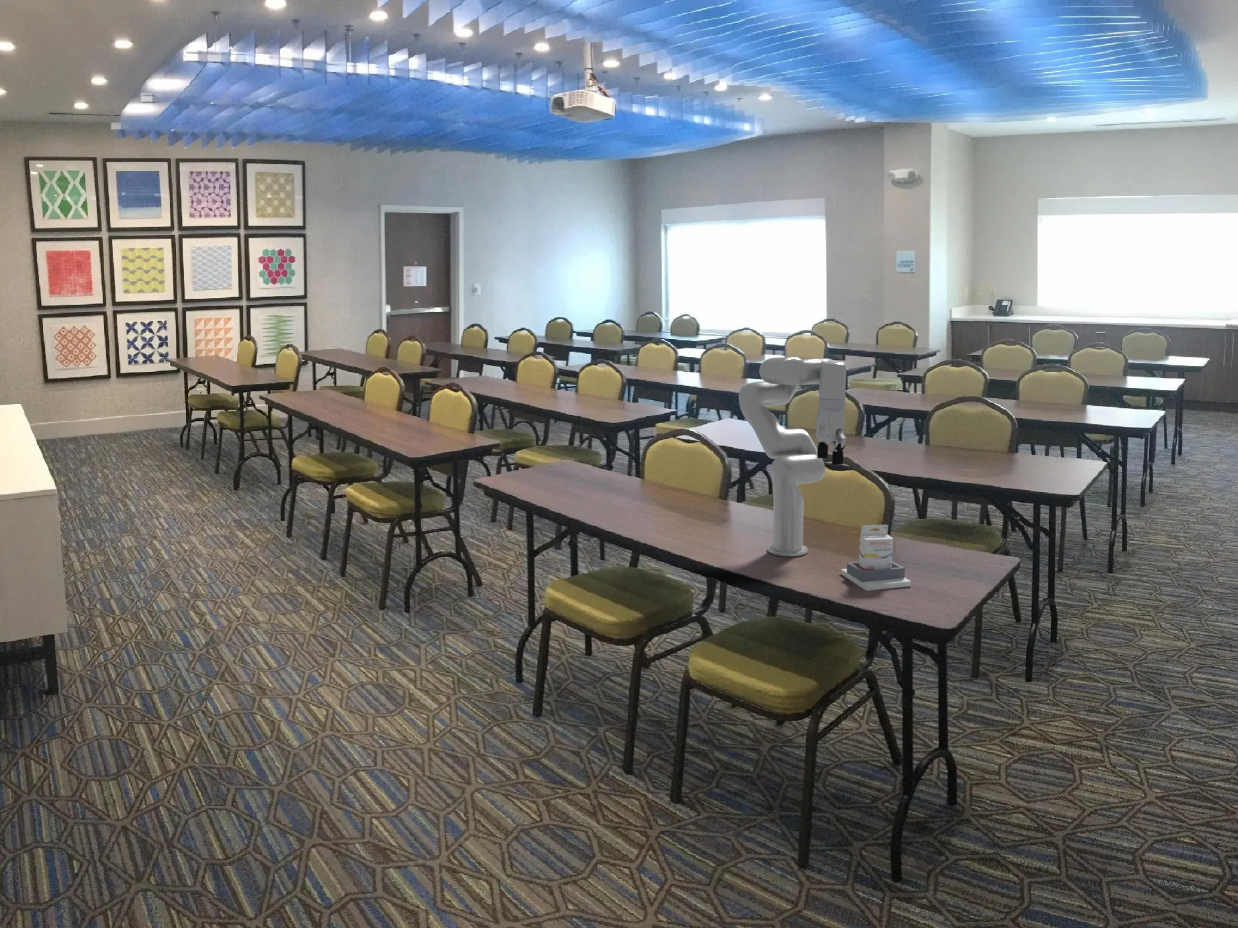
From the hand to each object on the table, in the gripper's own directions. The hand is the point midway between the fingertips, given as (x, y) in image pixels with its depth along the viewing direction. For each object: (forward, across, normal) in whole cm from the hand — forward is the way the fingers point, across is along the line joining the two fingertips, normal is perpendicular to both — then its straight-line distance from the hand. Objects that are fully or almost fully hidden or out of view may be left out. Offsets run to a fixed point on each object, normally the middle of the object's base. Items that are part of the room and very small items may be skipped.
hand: (829, 461), depth 284 cm
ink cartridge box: (+32, +12, +10) cm, 36 cm away
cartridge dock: (+34, +12, +10) cm, 37 cm away
